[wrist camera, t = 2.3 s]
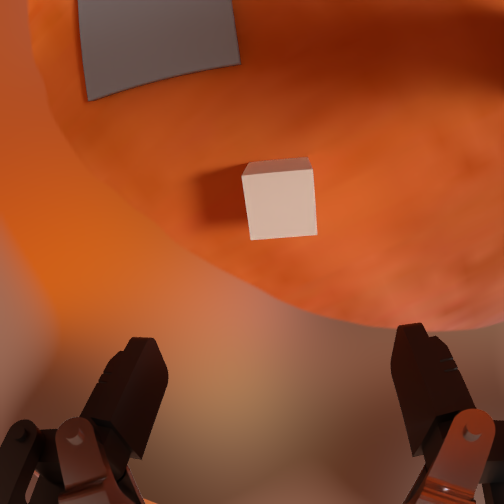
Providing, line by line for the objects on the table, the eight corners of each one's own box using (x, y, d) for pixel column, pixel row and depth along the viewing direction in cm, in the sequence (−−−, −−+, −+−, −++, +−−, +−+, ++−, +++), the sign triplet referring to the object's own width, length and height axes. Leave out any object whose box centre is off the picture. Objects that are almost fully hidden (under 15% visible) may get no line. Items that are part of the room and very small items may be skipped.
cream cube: (307, 156, 26) (312, 169, 21) (311, 212, 28) (317, 234, 24) (248, 162, 27) (241, 175, 22) (256, 216, 29) (250, 240, 24)
